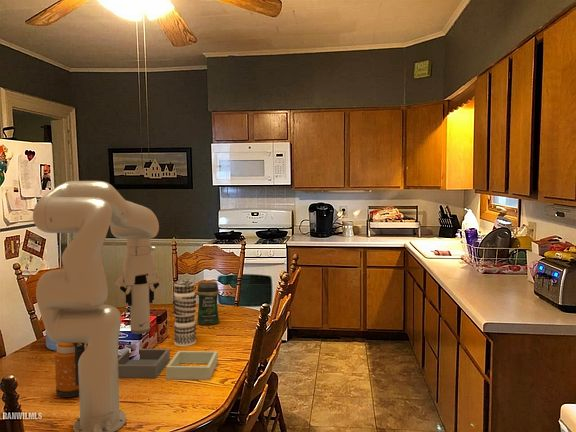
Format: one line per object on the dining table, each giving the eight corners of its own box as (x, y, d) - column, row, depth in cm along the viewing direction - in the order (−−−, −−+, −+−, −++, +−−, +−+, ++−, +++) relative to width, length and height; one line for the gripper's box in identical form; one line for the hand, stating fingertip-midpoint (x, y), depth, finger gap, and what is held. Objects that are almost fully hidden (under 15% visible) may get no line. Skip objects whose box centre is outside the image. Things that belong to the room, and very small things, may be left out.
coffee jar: (197, 326, 197) (196, 284, 196) (197, 320, 205) (197, 281, 203) (219, 325, 198) (218, 284, 197) (219, 319, 206) (218, 280, 205)
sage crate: (209, 379, 142) (209, 367, 142) (166, 379, 143) (166, 367, 142) (217, 362, 156) (217, 351, 156) (178, 362, 156) (178, 350, 156)
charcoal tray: (156, 378, 143) (155, 366, 143) (110, 377, 144) (110, 365, 143) (169, 360, 158) (169, 349, 158) (128, 359, 159) (128, 348, 158)
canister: (80, 382, 140) (78, 320, 139) (98, 393, 133) (96, 327, 132) (51, 392, 133) (48, 327, 132) (67, 404, 126) (65, 335, 125)
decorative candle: (200, 338, 180) (199, 278, 179) (192, 346, 171) (191, 283, 170) (178, 338, 181) (177, 277, 180) (170, 346, 172) (168, 282, 170)
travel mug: (145, 334, 147) (144, 275, 145) (127, 333, 148) (125, 274, 147) (154, 328, 153) (153, 271, 151) (137, 327, 154) (135, 270, 153)
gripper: (162, 247, 156) (163, 298, 157) (109, 251, 148) (111, 304, 149) (167, 250, 149) (168, 303, 150) (112, 254, 141) (114, 309, 142)
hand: (140, 303), depth 150 cm, fingers closed on travel mug, 6 cm apart
